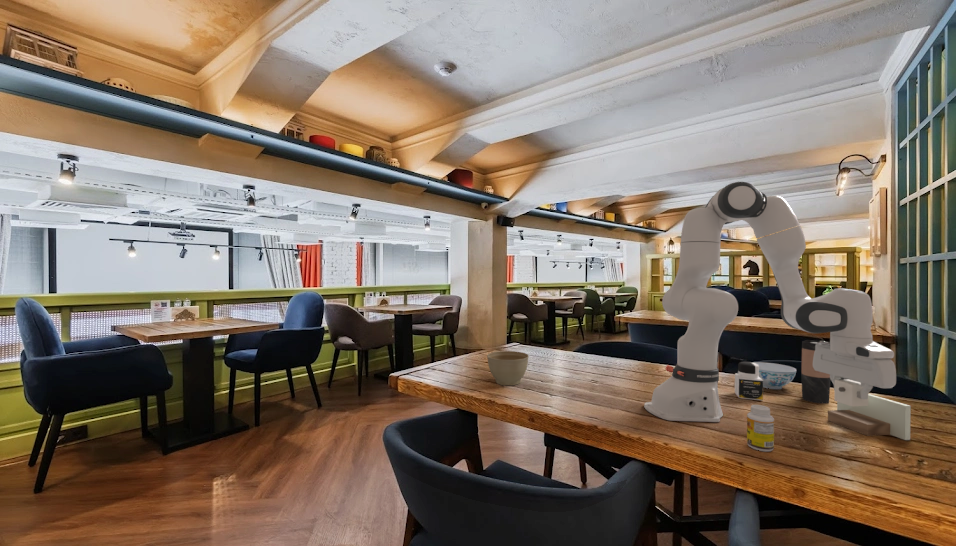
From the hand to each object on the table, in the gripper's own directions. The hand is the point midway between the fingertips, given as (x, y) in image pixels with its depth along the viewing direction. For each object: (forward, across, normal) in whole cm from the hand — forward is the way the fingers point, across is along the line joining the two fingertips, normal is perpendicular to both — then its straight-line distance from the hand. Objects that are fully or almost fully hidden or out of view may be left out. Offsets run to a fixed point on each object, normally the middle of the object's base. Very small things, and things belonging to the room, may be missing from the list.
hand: (850, 395), depth 115 cm
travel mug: (+10, -23, +13) cm, 28 cm away
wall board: (+9, 0, +7) cm, 12 cm away
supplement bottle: (+9, +9, -36) cm, 38 cm away
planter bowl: (+9, -55, -88) cm, 104 cm away
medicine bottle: (+10, -29, -7) cm, 31 cm away
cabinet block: (+2, 0, 0) cm, 2 cm away
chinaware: (+10, -39, +11) cm, 42 cm away
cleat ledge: (+9, 0, +2) cm, 10 cm away
